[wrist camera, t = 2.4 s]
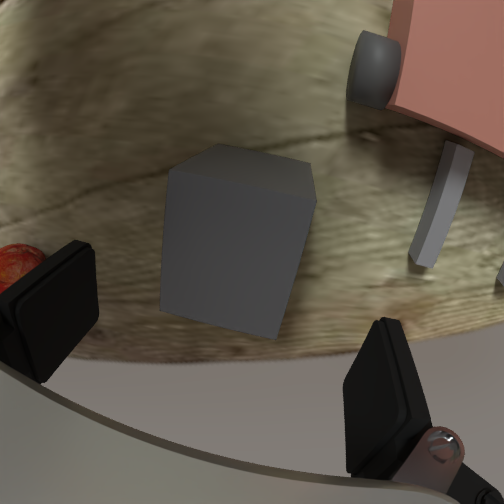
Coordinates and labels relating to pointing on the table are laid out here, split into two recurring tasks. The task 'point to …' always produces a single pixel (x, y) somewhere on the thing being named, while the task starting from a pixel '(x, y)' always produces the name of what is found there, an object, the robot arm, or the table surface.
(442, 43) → the toy tractor cart
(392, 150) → the table surface
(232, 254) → the dark grey rounded cube
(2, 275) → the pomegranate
